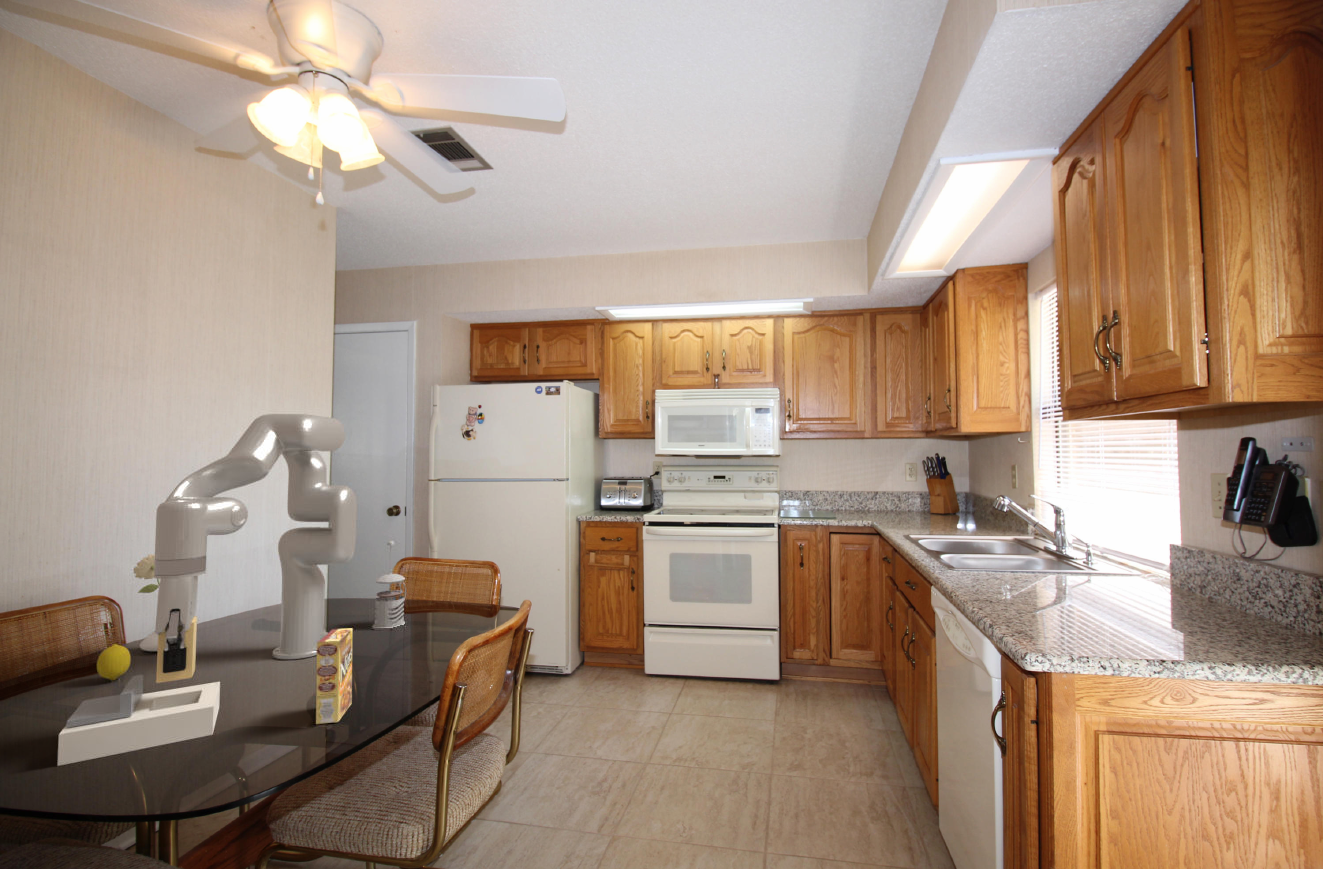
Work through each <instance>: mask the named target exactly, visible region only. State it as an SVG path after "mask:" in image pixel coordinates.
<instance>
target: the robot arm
mask: <svg viewBox="0 0 1323 869" xmlns="http://www.w3.org/2000/svg"><path fill="white" fill-rule="evenodd" d="M345 439H346V430H345V427H344V425H343V424H342V422H341V421H340V420H338V419H337V418H334V417H328V416H320V415H312V414H305V413H303V414H301V413H268V414H263V415H260V416H258V417H257V418H255V419H254V420H253V422H251V423H250V425H249V426H248V428H247V429H246V430H245V431H244V433H243V434H242V435H241V436H240V437H239V439H238V441H237V442H236V443H235V445H234V446H233V447H232V448H231V450H230V451H229V452H228V454H226V455H225V456H224V457H221V458H219V459H217V460H215V461H213V462H210V463H209V464H207V465H205V466H203V467H201V468H200V469H198V470H196V471H194V472H193V473H190V474H189V475H188V476H186V477H185V478H184V479H182V480H181V481H180V482H179V483H178V484H177V485H176V487H174V489H173V490H172V492H170V494H169V496H167V497H166V500H165V501H163V502H162V503H160V504H159V505H158V506H157V509H156V516H155V538H154V539H155V541H154V542H155V544H154V555H155V560H154V579H156V580H157V579H159V583H160V585H158V586H159V587H158V593H157V594H158V595H157V606H156V617H155V618H156V619H155V628H154V629H155V630H154V631H155V633H156V634H157V635H160V634H161V633H160V632H163V631H164V630H165V627H166V637H165V650H164V651H163V673H170V672H177V671H183V670H185V668H186V652H187V647H185V635H186V631H188V630H189V629H190V627H191V623H192V621H193V619H194V617H196V611H197V603H198V602H197V601H198V600H197V599H198V583H199V582H198V581H199V580H198V579H199V576H202V575H205V574H206V573H207V550H208V549H207V547H208V546H207V545H208V536H224V535H225V536H227V535H231V534H234V533H236V532H238V531H240V529H242V528H243V527H244V525H245V524H246V523H247V521H248V517H249V512H248V507H246V505H245V503H244V502H242V501H241V500H240V499H237V498H235V497H227V496H226V497H225V496H217V495H219V494H223V493H225V492H227V491H230V490H233V489H234V490H235V489H239V488H241V487H245V486H248V485H251V484H254V483H257V482H259V481H262V480H264V479H265V478H266V477H267V476H268V475H269V473H270V472H271V471H272V468H273V467H274V466H275V464H276V462H277V461H278V460H279V458H280V457H281V456H282V457H283V458H284V461H285V462H286V464H287V470H288V479H287V480H288V482H287V484H288V485H287V514H288V517H289V518H290V519H291V520H292V521H294V522H301V523H302V522H303V523H330V527H328V526H327V527H320V526H316V527H315V526H314V527H313V526H309V527H308V526H307V527H303V526H302V527H295V528H292V529H289V530H287V531H286V532H284V533H283V534H282V535H281V536H280V538H279V540H278V544H277V551H278V557H279V563H280V568H281V602H280V603H281V604H280V607H281V608H280V610H281V611H280V612H281V613H280V641H279V642H280V643H279V644H280V645H279V646H278V647H276V648H274V650H273V651H272V657H273V658H275V659H278V660H299V659H305V658H311V657H314V656H317V642H318V641H320V640H321V639H322V638H323V637H325V636H326V635H327V634H328V633H329V632H328V631H326V629H325V602H326V598H325V597H326V595H325V594H326V579H325V576H324V574H323V572H322V571H321V569H320V567H319V566H325V565H329V566H330V565H333V566H334V565H343V564H346V563H348V562H351V561H350V560H352V558H353V557H354V555H355V554H354V553H355V550H356V541H357V540H356V539H357V518H358V517H357V513H358V503H357V502H358V501H357V497H356V494H355V492H354V491H353V489H352V488H351V487H349V486H346V485H340V484H337V485H335V484H333V485H332V484H331V485H329V484H327V464H326V461H325V460H324V458H323V457H322V455H321V454H320V453H319V452H334V451H337V450H339V449H340V448H341V447H342V446H343V444H344V441H345ZM181 627H183V630H182V631H178V628H181ZM180 634H181V638H180V636H178V635H180Z"/></svg>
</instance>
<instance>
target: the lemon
mask: <svg viewBox="0 0 1323 869" xmlns="http://www.w3.org/2000/svg"><path fill="white" fill-rule="evenodd" d="M131 660H132V659H131V653H130V650H128V648H127V647H126V646H124V645H120V644H119V645H118V644H117V643H113V644H112V645H110V646H108V647H107V648H105V649H103V651H102V652H101V653H100V654H99V656H98V659H97V662H96V671H97V673H98V674H99V676H100V677H102V678H104V679H109V680H110V681H111V682H112V681H116V679H118V678H119V677H121V676H122V675H124V674H125V673H126V672H127V671H128V670H129V668H130V666H131Z"/></svg>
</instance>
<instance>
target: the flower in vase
mask: <svg viewBox="0 0 1323 869" xmlns="http://www.w3.org/2000/svg"><path fill="white" fill-rule="evenodd" d="M154 560H155V554H149V555H147V557H143V558H142V559H140V561H139V562H137V563H136V566H134V568H133V574H135V578H137V579H140V580H141V579H143V578H144V580H150V579H151V580H152V579H153V578H154ZM154 579H155V578H154ZM156 581H157V584H154V583H151V584H147V585H145V586H143V587H142V588H140V590H138V591H137V593H139V594H140V593H141V594H149V593H151V594H152V593H154V592H155V591H156V590H157V589H159V585H160V579H157V578H156ZM139 648H140V649H141V650H142V651H147V652H158V635H157V634H156V633H155V630H154V631H152V633H150V634H148V636H146V637H145V638H144V639H143V640H142V641H141V642H140V644H139Z"/></svg>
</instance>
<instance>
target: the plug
mask: <svg viewBox="0 0 1323 869" xmlns="http://www.w3.org/2000/svg"><path fill="white" fill-rule="evenodd" d="M197 626H198V616H195V617H194V619H193V621H192V623H191V627H190V629H189V630H188V631H186V635H185V647H187V652H186V668H185V670H183V671H177V672H170V673H163V651H164V650H165V637H166V627H165V630H164V631H163V632H160V633H161V634H160V635H158V651H156V652H157V656H156V657H157V658H156V679H155V680H156V681H155V683H156V684H160V683H161V684H162V683H166V682H167V683H168V682H172V681H174V682H175V681H180V680H187V679H193V678H192V677H193V676H194V673H195V670H196V654H197V652H196V651H197V631H198V629H197ZM182 630H183V627H181V628H178V631H182ZM178 636H180V638H181V634H180V635H178Z"/></svg>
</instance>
